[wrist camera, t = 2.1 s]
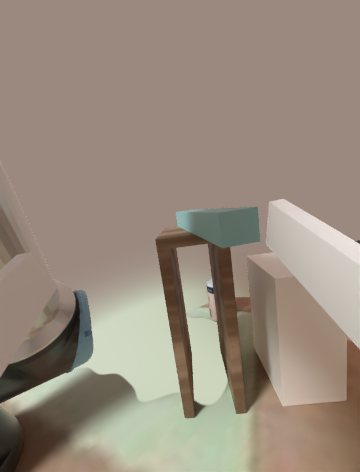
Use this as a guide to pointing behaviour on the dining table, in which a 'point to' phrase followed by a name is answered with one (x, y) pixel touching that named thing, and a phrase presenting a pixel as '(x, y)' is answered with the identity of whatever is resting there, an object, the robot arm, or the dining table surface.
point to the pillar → (295, 336)
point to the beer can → (211, 300)
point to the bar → (222, 225)
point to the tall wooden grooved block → (224, 313)
